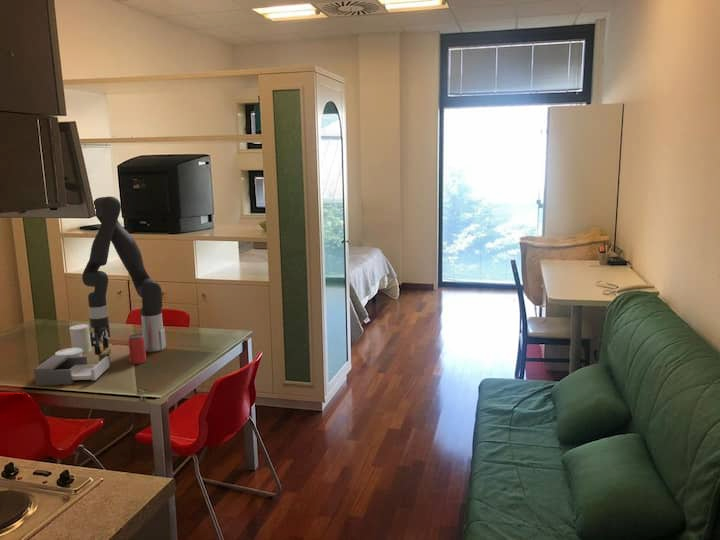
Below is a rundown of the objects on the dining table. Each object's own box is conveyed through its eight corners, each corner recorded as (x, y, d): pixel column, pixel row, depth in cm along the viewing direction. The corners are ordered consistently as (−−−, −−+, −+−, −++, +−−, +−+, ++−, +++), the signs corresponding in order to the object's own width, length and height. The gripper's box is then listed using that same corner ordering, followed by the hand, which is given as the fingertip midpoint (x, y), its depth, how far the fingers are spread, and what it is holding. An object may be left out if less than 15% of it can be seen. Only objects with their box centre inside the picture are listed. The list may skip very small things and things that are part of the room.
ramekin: (64, 358, 270) (62, 347, 269) (88, 358, 269) (87, 347, 268) (51, 367, 259) (49, 355, 258) (76, 367, 258) (74, 355, 257)
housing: (88, 369, 255) (86, 354, 253) (71, 384, 239) (69, 367, 238) (55, 370, 254) (53, 355, 253) (36, 385, 238) (34, 369, 237)
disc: (113, 351, 263) (112, 346, 262) (108, 355, 257) (107, 351, 256) (99, 351, 262) (99, 347, 262) (94, 356, 257) (93, 351, 256)
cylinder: (112, 362, 263) (110, 351, 262) (108, 365, 259) (107, 355, 258) (102, 362, 263) (100, 352, 262) (98, 366, 258) (96, 355, 257)
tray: (109, 366, 254) (108, 356, 253) (95, 380, 239) (93, 369, 238) (76, 367, 254) (75, 357, 253) (59, 381, 239) (58, 370, 238)
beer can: (131, 365, 259) (128, 339, 256) (129, 360, 264) (127, 335, 262) (147, 362, 262) (144, 336, 259) (145, 358, 267) (142, 332, 265)
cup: (84, 354, 274) (81, 329, 272) (68, 353, 276) (65, 329, 273) (95, 348, 282) (92, 324, 279) (80, 347, 283) (77, 323, 281)
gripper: (100, 320, 249) (104, 356, 252) (113, 311, 263) (116, 346, 266) (82, 320, 249) (86, 356, 252) (96, 311, 263) (100, 346, 266)
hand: (102, 351), depth 259 cm, fingers open, 8 cm apart
